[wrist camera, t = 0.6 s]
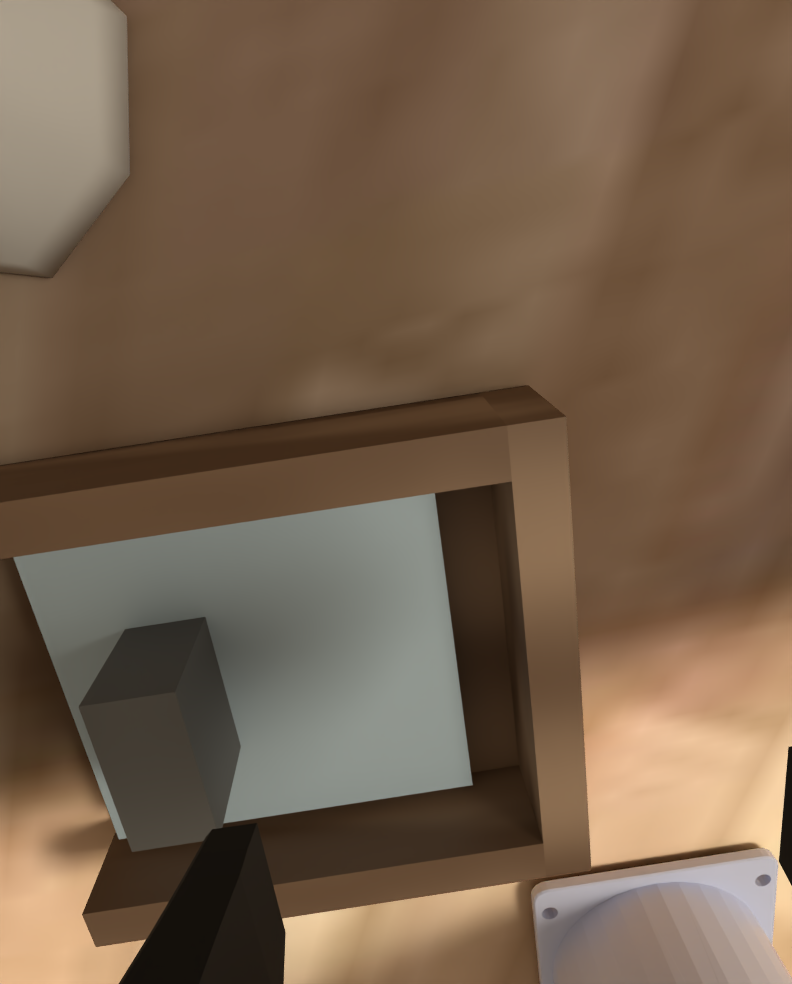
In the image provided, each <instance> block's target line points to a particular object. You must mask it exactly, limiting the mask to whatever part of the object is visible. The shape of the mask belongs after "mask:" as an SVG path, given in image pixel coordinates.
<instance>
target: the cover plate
mask: <svg viewBox="0 0 792 984" xmlns="http://www.w3.org/2000/svg"><path fill="white" fill-rule="evenodd" d="M13 558H14V561H15V564H16V566H17V569H18V572H19V574H20V577H21V580H22V582H23V585H24V588H25V590H26V593H27V596H28V598H29V601H30V604H31V606H32V609H33V612H34V614H35V617H36V620H37V622H38V625H39V628H40V630H41V633H42V636H43V638H44V641H45V644H46V646H47V649H48V652H49V654H50V657H51V660H52V662H53V665H54V668H55V670H56V673H57V676H58V678H59V681H60V684H61V686H62V689H63V692H64V694H65V697H66V700H67V702H68V705H69V708H70V710H71V713H72V716H73V718H74V721H75V724H76V726H77V729H78V732H79V734H80V737H81V740H82V742H83V745H84V748H85V750H86V753H87V756H88V758H89V761H90V764H91V766H92V769H93V772H94V774H95V777H96V780H97V782H98V785H99V788H100V790H101V793H102V796H103V798H104V801H105V804H106V806H107V809H108V812H109V814H110V817H111V820H112V822H113V825H114V828H115V830H116V833H117V836H118V838H119V839H125V838H127V840H128V843H129V845H130V848H131V851H132V852H136V851H142V850H149V849H155V848H162V847H168V846H175V845H181V844H188V843H194V842H201V841H204V839H205V837H206V836H207V835H208V834H209V832H210V831H211V830H212V829H217V828H222V827H223V823H229V822H236V821H242V820H249V819H255V818H262V817H268V816H275V815H281V814H288V813H294V812H301V811H307V810H314V809H320V808H327V807H333V806H340V805H346V804H353V803H359V802H366V801H373V800H379V799H386V798H392V797H399V796H405V795H412V794H418V793H425V792H431V791H438V790H444V789H451V788H457V787H464V786H470V785H473V784H472V776H471V769H470V761H469V753H468V745H467V738H466V730H465V722H464V715H463V707H462V699H461V692H460V684H459V676H458V668H457V661H456V653H455V645H454V638H453V630H452V622H451V615H450V607H449V599H448V591H447V584H446V576H445V568H444V561H443V553H442V545H441V537H440V530H439V522H438V514H437V507H436V499H435V493H433V494H426V495H419V496H413V497H406V498H400V499H393V500H387V501H380V502H373V503H367V504H360V505H354V506H347V507H341V508H334V509H327V510H321V511H314V512H308V513H301V514H295V515H288V516H282V517H275V518H268V519H262V520H255V521H249V522H242V523H236V524H229V525H222V526H216V527H209V528H203V529H196V530H190V531H183V532H176V533H170V534H163V535H157V536H150V537H144V538H137V539H130V540H124V541H117V542H111V543H104V544H98V545H91V546H84V547H78V548H71V549H65V550H58V551H52V552H45V553H39V554H32V555H25V556H19V557H13Z"/></svg>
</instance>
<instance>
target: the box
mask: <svg viewBox="0 0 792 984" xmlns="http://www.w3.org/2000/svg"><path fill="white" fill-rule="evenodd" d="M433 493H435V499H436V507H437V514H438V522H439V530H440V537H441V545H442V553H443V561H444V568H445V576H446V584H447V591H448V599H449V607H450V615H451V622H452V630H453V638H454V645H455V653H456V661H457V668H458V676H459V684H460V692H461V699H462V707H463V715H464V722H465V730H466V738H467V745H468V753H469V761H470V769H471V776H472V784H473V785H470V786H464V787H457V788H451V789H444V790H438V791H431V792H425V793H418V794H412V795H405V796H399V797H392V798H386V799H379V800H373V801H366V802H359V803H353V804H346V805H340V806H333V807H327V808H320V809H314V810H307V811H301V812H294V813H288V814H281V815H275V816H268V817H262V818H255V819H249V820H242V821H236V822H229V823H223V827H222V828H224V827H231V826H238V825H245V824H252V823H257V825H258V828H259V832H260V836H261V840H262V844H263V848H264V852H265V856H266V859H267V863H268V867H269V871H270V875H271V879H272V883H273V886H274V890H275V894H276V898H277V902H278V906H279V910H280V913H281V917H282V918H287V917H294V916H300V915H307V914H313V913H320V912H326V911H333V910H339V909H346V908H352V907H359V906H365V905H372V904H378V903H385V902H391V901H398V900H404V899H411V898H417V897H424V896H430V895H437V894H443V893H450V892H456V891H463V890H469V889H476V888H482V887H488V886H495V885H501V884H508V883H514V882H521V881H527V880H534V879H540V878H547V877H553V876H560V875H566V874H573V873H579V872H586V871H591V857H590V838H589V820H588V802H587V784H586V766H585V748H584V730H583V712H582V693H581V675H580V657H579V639H578V621H577V603H576V585H575V567H574V548H573V530H572V512H571V494H570V476H569V458H568V440H567V422H566V416H565V415H564V414H562V413H561V412H560V411H559V410H558V409H556V408H555V407H554V406H553V405H551V404H550V403H549V402H548V401H547V400H545V399H544V398H543V397H542V396H541V395H539V394H538V393H537V392H536V391H534V390H533V389H532V388H531V387H530V386H522V387H515V388H508V389H502V390H495V391H489V392H482V393H475V394H469V395H462V396H456V397H449V398H443V399H436V400H429V401H423V402H416V403H410V404H403V405H396V406H390V407H383V408H377V409H370V410H363V411H357V412H350V413H344V414H337V415H331V416H324V417H317V418H311V419H304V420H298V421H291V422H284V423H278V424H271V425H265V426H258V427H252V428H245V429H238V430H232V431H225V432H219V433H212V434H205V435H199V436H192V437H186V438H179V439H172V440H166V441H159V442H153V443H146V444H140V445H133V446H126V447H120V448H113V449H107V450H100V451H93V452H87V453H80V454H74V455H67V456H60V457H54V458H47V459H41V460H34V461H28V462H21V463H14V464H8V465H1V466H0V559H6V558H12V557H19V556H25V555H32V554H39V553H45V552H52V551H58V550H65V549H71V548H78V547H84V546H91V545H98V544H104V543H111V542H117V541H124V540H130V539H137V538H144V537H150V536H157V535H163V534H170V533H176V532H183V531H190V530H196V529H203V528H209V527H216V526H222V525H229V524H236V523H242V522H249V521H255V520H262V519H268V518H275V517H282V516H288V515H295V514H301V513H308V512H314V511H321V510H327V509H334V508H341V507H347V506H354V505H360V504H367V503H373V502H380V501H387V500H393V499H400V498H406V497H413V496H419V495H426V494H433ZM202 843H203V841H201V842H194V843H188V844H181V845H175V846H168V847H162V848H155V849H149V850H142V851H136V852H132V851H131V848H130V845H129V843H128V840H127V838H125V839H119V838H118V836H117V833H115V835H114V838H113V840H112V843H111V845H110V848H109V850H108V853H107V855H106V858H105V860H104V862H103V865H102V867H101V870H100V872H99V875H98V877H97V880H96V882H95V884H94V887H93V889H92V892H91V894H90V897H89V899H88V902H87V904H86V907H85V909H84V911H83V914H82V915H83V918H84V920H85V922H86V925H87V927H88V930H89V932H90V934H91V937H92V939H93V941H94V944H95V946H96V947H99V946H106V945H112V944H119V943H125V942H132V941H138V940H145V939H147V938H148V936H149V934H150V933H151V931H152V929H153V928H154V926H155V924H156V923H157V921H158V919H159V917H160V916H161V914H162V912H163V911H164V909H165V907H166V906H167V904H168V902H169V901H170V899H171V897H172V895H173V894H174V892H175V890H176V888H177V887H178V885H179V883H180V881H181V880H182V878H183V876H184V874H185V873H186V871H187V869H188V867H189V866H190V864H191V862H192V860H193V859H194V857H195V855H196V853H197V851H198V850H199V848H200V846H201V844H202Z"/></svg>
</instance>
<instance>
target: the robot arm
mask: <svg viewBox="0 0 792 984" xmlns="http://www.w3.org/2000/svg"><path fill="white" fill-rule="evenodd" d="M779 862H780V864H781V866H782V868H783V870H784V872H785V874H786V876H787V878H788V879H789V881H790V883H791V885H792V747H789V748H788V760H787V772H786V784H785V796H784V808H783V820H782V832H781V844H780V856H779ZM777 875H778V862H777V860H776V859H775V857H774V856H773V854H772V853H771V852H770V851H769V850H767V849H764V848H756V849H750V850H743V851H737V852H731V853H724V854H718V855H711V856H705V857H698V858H692V859H685V860H679V861H672V862H666V863H659V864H653V865H646V866H640V867H633V868H627V869H620V870H614V871H607V872H601V873H594V874H588V875H581V876H575V877H568V878H562V879H555V880H549V881H544V882H540V883H538V884H537V885H536V886H535V887H534V888H533V889H532V892H531V900H532V911H533V921H534V931H535V941H536V951H537V961H538V971H539V981H540V984H792V977H791V976H790V974H789V972H788V971H787V969H786V967H785V965H784V964H783V962H782V960H781V959H780V957H779V955H778V954H777V952H776V950H775V949H774V947H773V945H772V942H773V929H774V915H775V902H776V888H777ZM284 955H285V929H284V925H283V921H282V917H281V913H280V910H279V906H278V902H277V898H276V894H275V890H274V886H273V883H272V879H271V875H270V871H269V867H268V863H267V859H266V856H265V852H264V848H263V844H262V840H261V836H260V832H259V828H258V825H257V823H252V824H245V825H238V826H231V827H224V828H217V829H212V830H211V831H210V832H209V834H208V835H207V836H206V837H205V839H204V841H203V843H202V844H201V846H200V848H199V850H198V851H197V853H196V855H195V857H194V859H193V860H192V862H191V864H190V866H189V867H188V869H187V871H186V873H185V874H184V876H183V878H182V880H181V881H180V883H179V885H178V887H177V888H176V890H175V892H174V894H173V895H172V897H171V899H170V901H169V902H168V904H167V906H166V907H165V909H164V911H163V912H162V914H161V916H160V917H159V919H158V921H157V923H156V924H155V926H154V928H153V929H152V931H151V933H150V934H149V936H148V938H147V939H146V941H145V942H144V944H143V946H142V947H141V949H140V951H139V952H138V954H137V955H136V957H135V959H134V960H133V962H132V963H131V965H130V967H129V968H128V970H127V971H126V973H125V975H124V976H123V978H122V979H121V981H120V983H119V984H283V981H284Z"/></svg>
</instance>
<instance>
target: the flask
mask: <svg viewBox="0 0 792 984" xmlns="http://www.w3.org/2000/svg"><path fill="white" fill-rule="evenodd" d="M129 175H130V155H129V104H128V53H127V16H126V15H125V14H124V13H123V12H122V11H121V10H120V9H119V8H118V7H117V6H116V5H115V4H114V3H113V2H112V1H111V0H0V272H3V273H12V274H21V275H30V276H39V277H48V278H53V276H54V275H55V274H56V272H57V271H58V270H59V268H60V267H61V266H62V264H63V263H64V262H65V260H66V259H67V258H68V256H69V255H70V254H71V252H72V251H73V250H74V248H75V247H76V246H77V244H78V243H79V242H80V240H81V239H82V238H83V236H84V235H85V234H86V232H87V231H88V230H89V228H90V227H91V226H92V224H93V223H94V222H95V220H96V219H97V218H98V216H99V215H100V214H101V212H102V211H103V210H104V208H105V207H106V206H107V204H108V203H109V202H110V200H111V199H112V198H113V196H114V195H115V194H116V192H117V191H118V190H119V188H120V187H121V186H122V184H123V183H124V182H125V180H126V179H127V178H128V176H129Z"/></svg>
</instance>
